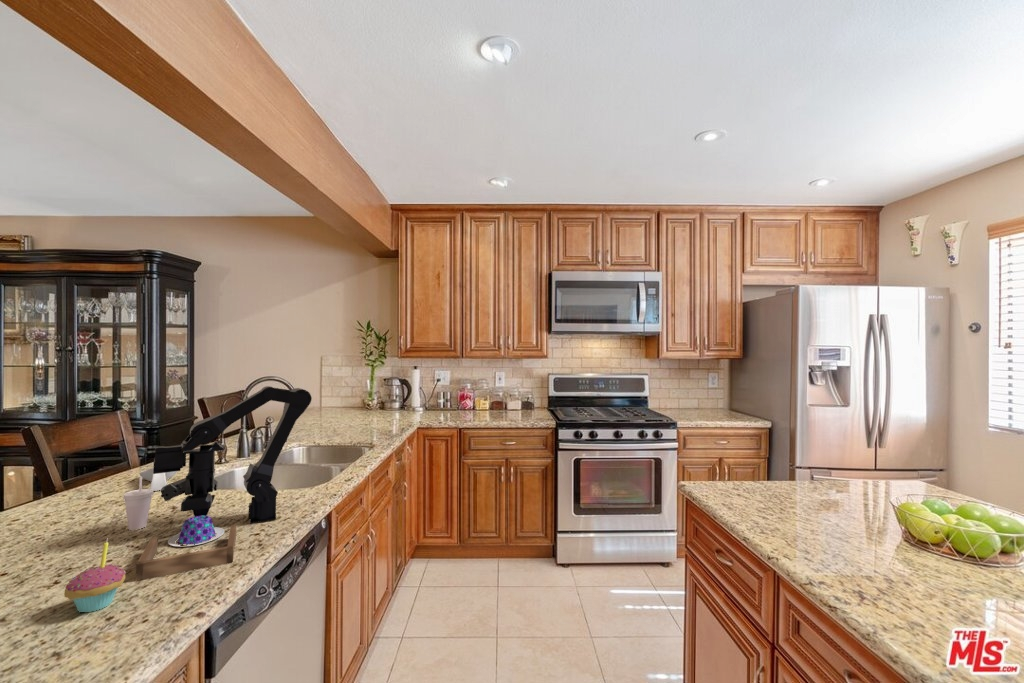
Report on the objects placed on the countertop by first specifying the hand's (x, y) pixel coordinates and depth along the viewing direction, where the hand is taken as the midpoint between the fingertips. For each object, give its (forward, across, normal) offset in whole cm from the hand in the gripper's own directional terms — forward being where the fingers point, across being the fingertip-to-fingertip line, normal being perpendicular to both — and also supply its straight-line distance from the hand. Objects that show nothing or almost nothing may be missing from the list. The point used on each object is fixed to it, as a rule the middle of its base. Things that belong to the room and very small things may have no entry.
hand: (199, 526), depth 119 cm
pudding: (+2, +5, 0) cm, 5 cm away
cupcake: (+1, +33, -12) cm, 36 cm away
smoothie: (+2, -10, -15) cm, 18 cm away
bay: (+1, +18, 0) cm, 18 cm away
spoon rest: (+2, -57, -18) cm, 60 cm away
